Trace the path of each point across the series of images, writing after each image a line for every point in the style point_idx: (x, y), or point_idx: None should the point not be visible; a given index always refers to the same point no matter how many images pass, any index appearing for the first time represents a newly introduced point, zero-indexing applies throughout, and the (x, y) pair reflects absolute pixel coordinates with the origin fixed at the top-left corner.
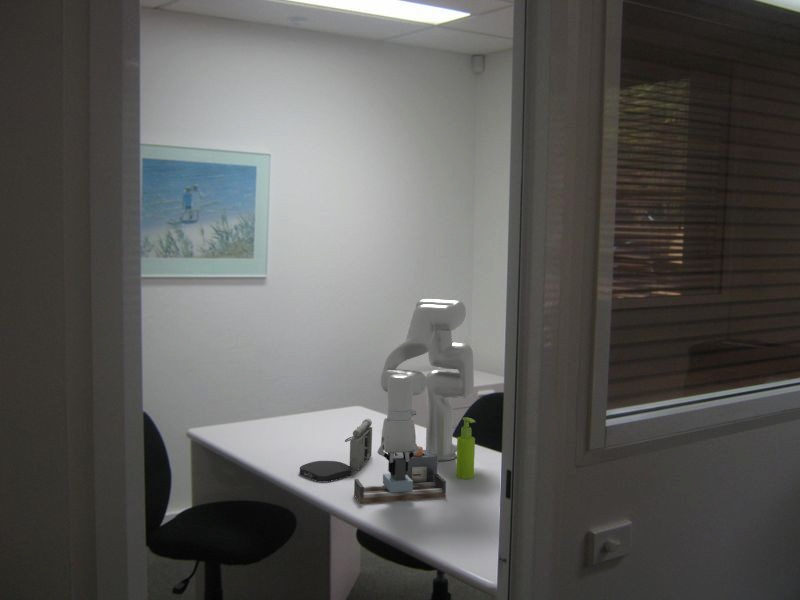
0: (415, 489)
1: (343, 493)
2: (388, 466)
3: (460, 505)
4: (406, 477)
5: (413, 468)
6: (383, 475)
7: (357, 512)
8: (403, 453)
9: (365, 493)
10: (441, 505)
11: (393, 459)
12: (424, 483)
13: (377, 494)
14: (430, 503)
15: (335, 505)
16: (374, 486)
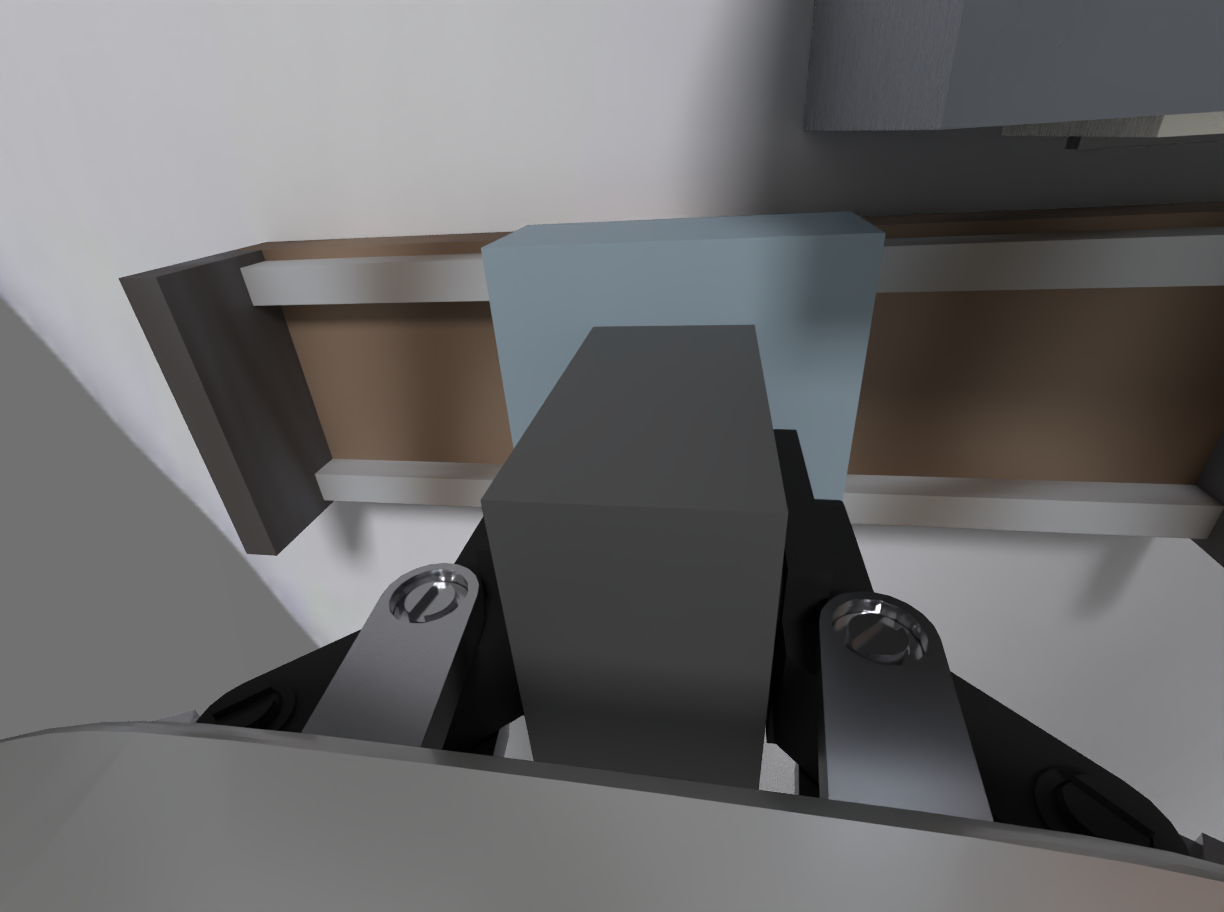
0: (919, 365)
1: (156, 171)
2: (481, 524)
3: (1148, 686)
4: None
5: (1177, 132)
6: (492, 270)
7: (338, 606)
8: (822, 783)
9: (340, 474)
10: (983, 649)
11: (526, 672)
12: (1138, 284)
13: (451, 502)
14: (916, 594)
15: (171, 462)
16: (425, 283)
